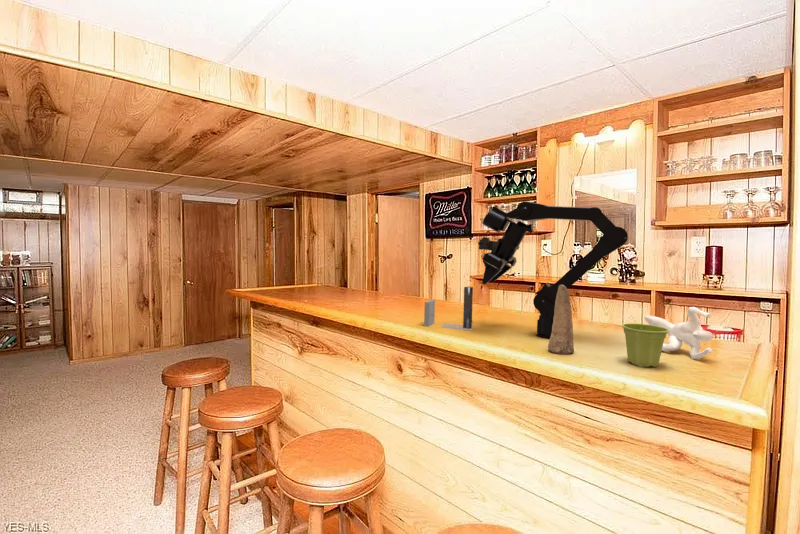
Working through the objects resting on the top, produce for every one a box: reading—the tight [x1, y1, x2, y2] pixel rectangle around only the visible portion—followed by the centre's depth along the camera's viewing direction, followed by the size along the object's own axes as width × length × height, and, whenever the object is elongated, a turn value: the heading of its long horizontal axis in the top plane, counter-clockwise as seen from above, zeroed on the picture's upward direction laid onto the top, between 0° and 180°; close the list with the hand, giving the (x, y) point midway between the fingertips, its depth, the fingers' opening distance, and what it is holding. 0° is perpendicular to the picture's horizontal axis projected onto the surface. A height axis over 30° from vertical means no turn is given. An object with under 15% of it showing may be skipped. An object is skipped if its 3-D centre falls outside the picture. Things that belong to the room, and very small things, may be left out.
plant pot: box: [621, 323, 669, 368], centre depth 93 cm, size 9×9×9 cm
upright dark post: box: [441, 286, 475, 331], centre depth 130 cm, size 10×5×14 cm, turn 67°
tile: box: [423, 299, 436, 328], centre depth 134 cm, size 2×6×8 cm, turn 157°
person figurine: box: [644, 306, 714, 361], centre depth 104 cm, size 13×13×18 cm
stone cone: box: [547, 285, 575, 355], centre depth 101 cm, size 6×18×6 cm
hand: (487, 282), depth 128 cm, fingers open, 9 cm apart
